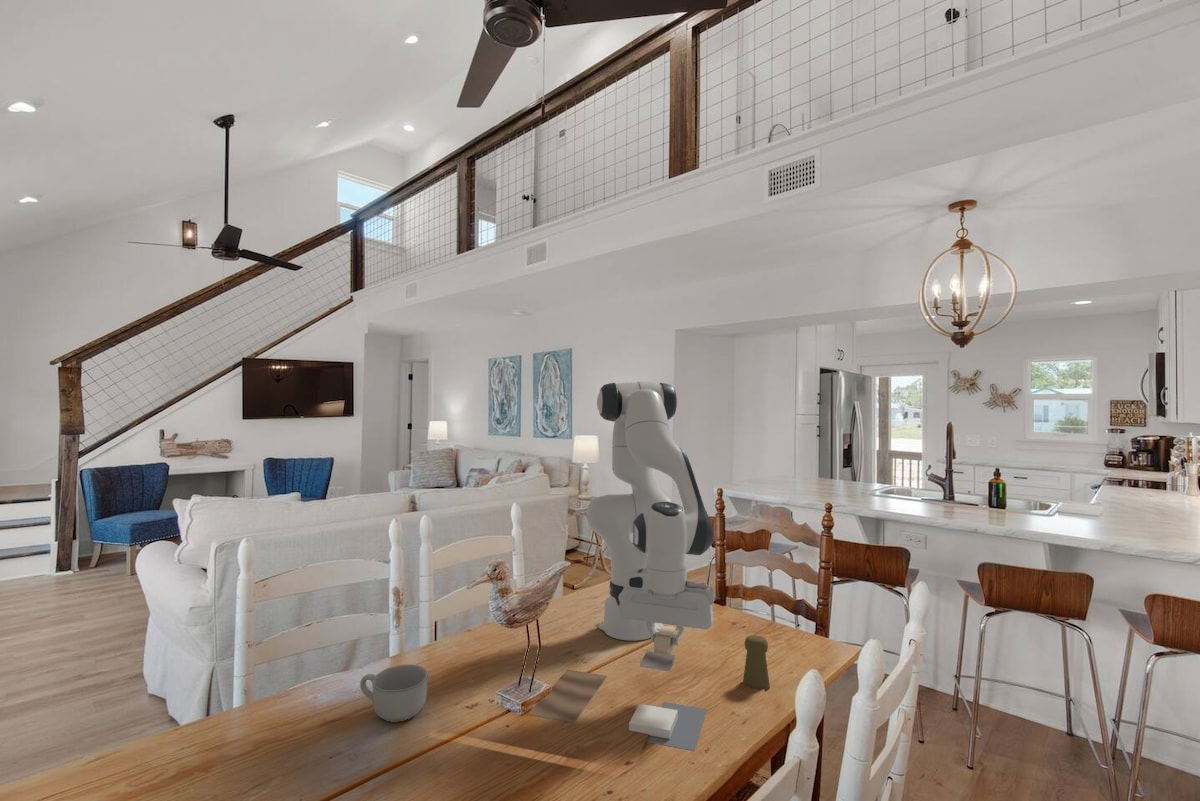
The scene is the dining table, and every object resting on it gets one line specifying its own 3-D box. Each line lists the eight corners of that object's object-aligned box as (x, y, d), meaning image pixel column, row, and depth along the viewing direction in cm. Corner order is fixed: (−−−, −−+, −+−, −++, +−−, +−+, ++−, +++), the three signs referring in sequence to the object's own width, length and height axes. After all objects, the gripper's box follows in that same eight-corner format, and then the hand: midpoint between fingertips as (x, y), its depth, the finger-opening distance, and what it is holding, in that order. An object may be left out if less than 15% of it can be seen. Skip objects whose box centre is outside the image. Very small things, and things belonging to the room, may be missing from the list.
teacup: (437, 707, 123) (438, 668, 123) (404, 733, 113) (405, 691, 113) (383, 695, 128) (383, 658, 128) (346, 720, 117) (347, 680, 118)
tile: (639, 703, 120) (629, 723, 113) (677, 710, 118) (669, 730, 110) (639, 712, 120) (628, 732, 113) (677, 719, 118) (669, 739, 110)
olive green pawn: (770, 692, 131) (771, 643, 131) (743, 690, 132) (743, 640, 132) (768, 680, 137) (768, 633, 137) (742, 678, 138) (742, 631, 138)
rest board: (567, 673, 139) (567, 669, 139) (607, 680, 136) (607, 675, 136) (527, 719, 118) (527, 714, 118) (573, 728, 115) (573, 722, 115)
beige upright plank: (655, 640, 131) (655, 624, 131) (682, 644, 129) (682, 628, 129) (640, 666, 118) (640, 649, 118) (669, 671, 116) (669, 653, 116)
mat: (623, 698, 128) (623, 695, 128) (706, 712, 122) (706, 709, 122) (600, 736, 112) (600, 733, 112) (694, 754, 107) (694, 750, 107)
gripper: (716, 580, 126) (715, 644, 126) (625, 570, 133) (624, 631, 133) (712, 589, 120) (711, 656, 120) (617, 578, 127) (616, 641, 127)
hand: (665, 642), depth 127 cm, fingers closed on beige upright plank, 3 cm apart
